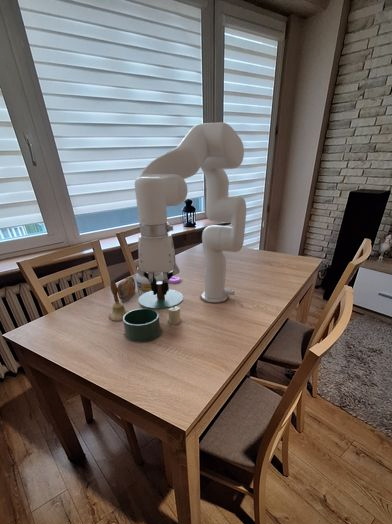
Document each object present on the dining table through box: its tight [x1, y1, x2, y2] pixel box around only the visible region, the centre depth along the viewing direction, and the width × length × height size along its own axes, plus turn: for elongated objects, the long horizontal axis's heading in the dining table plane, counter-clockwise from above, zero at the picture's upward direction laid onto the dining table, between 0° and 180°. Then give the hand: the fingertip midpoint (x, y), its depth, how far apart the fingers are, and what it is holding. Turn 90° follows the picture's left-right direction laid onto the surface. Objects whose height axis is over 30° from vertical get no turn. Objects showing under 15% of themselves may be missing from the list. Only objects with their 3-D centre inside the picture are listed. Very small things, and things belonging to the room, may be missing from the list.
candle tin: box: [122, 307, 162, 343], centre depth 103 cm, size 13×13×7 cm
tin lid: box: [137, 281, 185, 311], centre depth 85 cm, size 14×14×6 cm
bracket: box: [162, 272, 181, 284], centre depth 148 cm, size 13×6×7 cm, turn 62°
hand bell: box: [109, 279, 129, 322], centre depth 112 cm, size 8×8×16 cm
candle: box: [167, 305, 181, 325], centre depth 110 cm, size 5×5×7 cm
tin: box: [117, 276, 136, 302], centre depth 131 cm, size 15×3×8 cm, turn 168°
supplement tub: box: [135, 266, 163, 309], centre depth 121 cm, size 12×12×17 cm
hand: (160, 292), depth 85 cm, fingers closed on tin lid, 2 cm apart
